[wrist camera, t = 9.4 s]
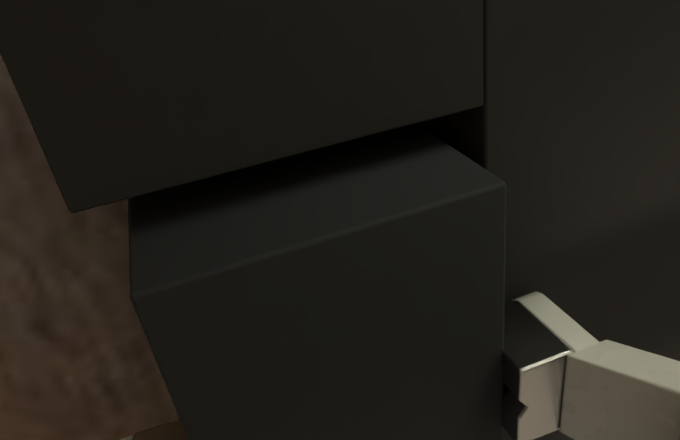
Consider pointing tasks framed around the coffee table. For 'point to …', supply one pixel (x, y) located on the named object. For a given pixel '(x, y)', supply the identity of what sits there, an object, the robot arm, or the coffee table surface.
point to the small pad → (329, 294)
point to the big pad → (391, 117)
